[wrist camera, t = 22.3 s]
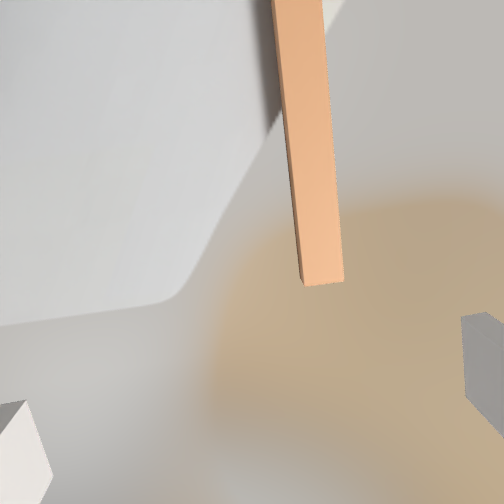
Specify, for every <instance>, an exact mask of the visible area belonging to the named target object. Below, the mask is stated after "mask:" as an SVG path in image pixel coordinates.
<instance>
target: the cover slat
mask: <svg viewBox="0 0 504 504" xmlns="http://www.w3.org/2000/svg"><path fill="white" fill-rule="evenodd" d="M271 8H272V17H273V26H274V36H275V45H276V54H277V64H278V73H279V82H280V92H281V101H282V115H283V125H284V134H285V143H286V151H287V152H286V153H287V162H288V171H289V181H290V190H291V198H292V207H293V217H294V227H295V236H296V246H297V254H298V264H299V273H300V279H301V280H302V282H303V284H304V286H305V287H307V286H314V285H321V284H328V283H335V282H342V281H344V270H343V259H342V246H341V233H340V221H339V209H338V197H337V183H336V171H335V158H334V147H333V134H332V123H331V109H330V97H329V84H328V73H327V72H328V71H327V59H326V46H325V34H324V22H323V9H322V0H271Z"/></svg>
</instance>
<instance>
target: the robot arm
mask: <svg viewBox="0 0 504 504" xmlns="http://www.w3.org/2000/svg"><path fill="white" fill-rule="evenodd" d="M461 326H462V343H463V358H464V375H465V393H466V398H467V399H468V400H469V401H470V402H471V403H472V404H473V405H474V406H475V407H476V408H477V410H478V411H479V412H480V413H481V414H482V415H483V416H484V417H485V418H486V419H487V420H488V422H489V423H490V424H491V425H492V426H493V427H494V428H495V429H496V430H497V431H498V432H499V434H500V435H501V436H502V437H503V438H504V324H503V323H501V322H500V321H498V320H497V319H495V318H494V317H493V316H491V315H490V314H488V313H487V312H483V313H478V314H473V315H468V316H463V317H461ZM52 478H53V474H52V471H51V469H50V466H49V462H48V460H47V457H46V454H45V451H44V448H43V446H42V443H41V440H40V437H39V434H38V431H37V429H36V426H35V423H34V420H33V417H32V414H31V412H30V409H29V406H28V403H27V400H22V401H17V402H12V403H6V404H1V405H0V504H40V502H41V500H42V498H43V496H44V494H45V492H46V490H47V488H48V486H49V484H50V482H51V480H52Z"/></svg>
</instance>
